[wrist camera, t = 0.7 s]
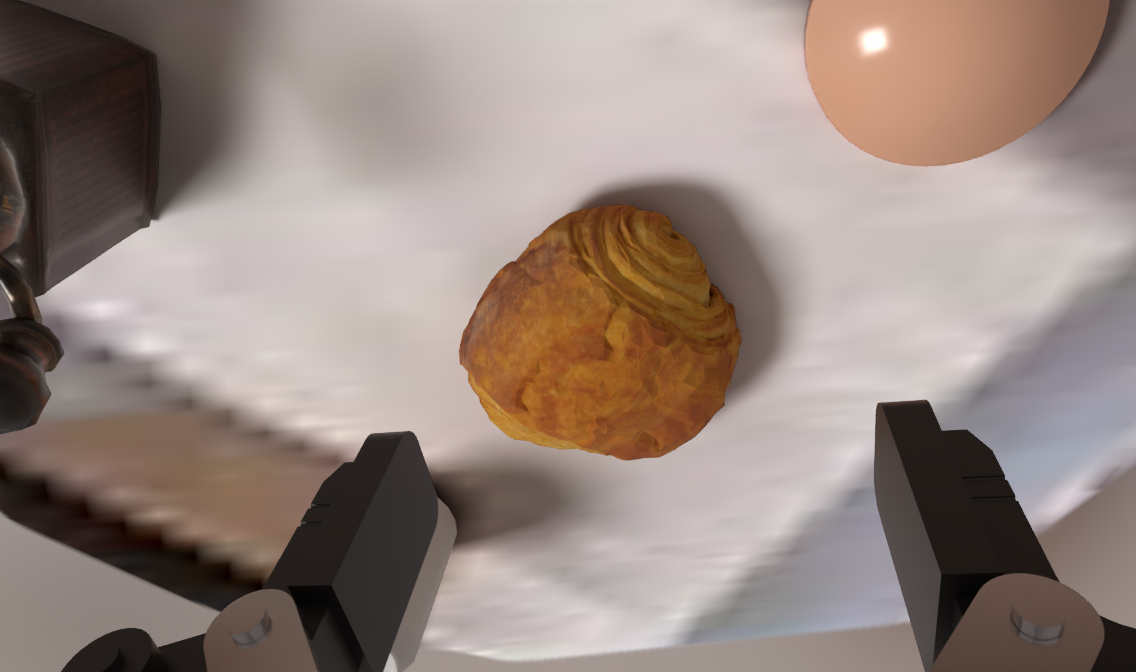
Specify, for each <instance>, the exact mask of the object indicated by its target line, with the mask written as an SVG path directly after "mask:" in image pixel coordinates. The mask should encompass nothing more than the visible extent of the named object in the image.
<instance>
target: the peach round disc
mask: <svg viewBox="0 0 1136 672" xmlns="http://www.w3.org/2000/svg"><path fill="white" fill-rule="evenodd" d="M1109 1H1110V0H810V4H809V7H808V11H807V17H806V22H805V28H804V56H805V65H806V70H807V74H808V79H809V82H810V85H811V87H812V90H813V92H814V95H815V97H816V99H817V101H818V102H819V104H820V106H821V108H822V110H823V111H824V113H825V115H826V117H827V118H828V119H829V120H830V122H831V123H832V124H833V126H834V127H835V128H836V129H837V130H838V131H839V132H840V133H841V134H842V135H843V136H844V137H845V138H846V139H847V140H848V141H850V142H851V143H853V144H854V145H855V146H857V147H858V148H860V149H861V150H863V151H865V152H867V153H869V154H871V155H873V156H875V157H878V158H881V159H884V160H887V161H890V162H894V163H899V164H904V165H911V166H941V165H948V164H954V163H960V162H964V161H967V160H971V159H974V158H978V157H981V156H983V155H986V154H988V153H990V152H993V151H995V150H998V149H1000V148H1002V147H1003V146H1005V145H1007V144H1009V143H1011V142H1013V141H1015V140H1016V139H1018V138H1019V137H1021V136H1022V135H1024V134H1025V133H1027V132H1028V131H1030V130H1031V129H1033V128H1034V127H1035V126H1036V125H1037V124H1039V123H1040V122H1041V121H1042V120H1043V119H1045V118H1046V117H1047V116H1048V115H1049V114H1050V113H1051V112H1052V111H1053V110H1054V109H1055V108H1056V107H1057V106H1058V105H1059V104H1060V103H1061V102H1062V101H1063V100H1064V99H1065V97H1066V96H1067V95H1068V94H1069V92H1070V91H1071V90H1072V89H1073V87H1074V86H1075V85H1076V84H1077V82H1078V81H1079V79H1080V77H1081V76H1082V74H1083V73H1084V71H1085V70H1086V68H1087V67H1088V65H1089V63H1090V61H1091V59H1092V57H1093V55H1094V53H1095V51H1096V49H1097V46H1098V44H1099V41H1100V38H1101V35H1102V33H1103V30H1104V27H1105V22H1106V18H1107V14H1108V9H1109Z"/></svg>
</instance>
